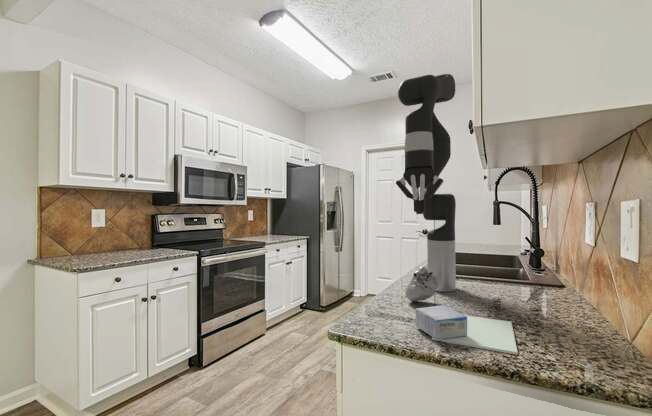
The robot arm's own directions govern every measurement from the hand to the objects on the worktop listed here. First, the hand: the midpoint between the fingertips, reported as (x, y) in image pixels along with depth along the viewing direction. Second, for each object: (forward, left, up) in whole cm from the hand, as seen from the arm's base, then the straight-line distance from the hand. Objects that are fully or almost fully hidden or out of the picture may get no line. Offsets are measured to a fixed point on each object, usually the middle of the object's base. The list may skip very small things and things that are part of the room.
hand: (419, 213), depth 86 cm
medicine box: (+9, +4, -24) cm, 26 cm away
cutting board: (+8, +14, -27) cm, 31 cm away
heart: (-8, -1, -27) cm, 28 cm away
